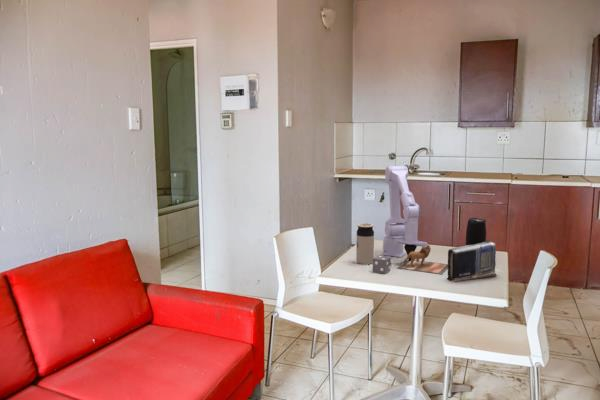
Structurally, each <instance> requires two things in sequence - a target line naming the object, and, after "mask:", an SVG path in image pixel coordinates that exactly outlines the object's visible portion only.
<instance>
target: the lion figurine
mask: <svg viewBox="0 0 600 400" xmlns="http://www.w3.org/2000/svg"><path fill="white" fill-rule="evenodd" d="M431 249H432V248H431V246H430V244H428V243H427V247H422V246H421V249H420V250H419V251H412V252H410V253H409V254H408V255H407V256H406V257H405V258H404V260H403V262H402V264H403V263H404V266H405V265H406V262H407V260H408V259H409V258H410V257H411V263H410V264H411V266H412V267H414V265H413V262H414V261H415V260H416V261H417V262H419V261H421V265H423V262H424V261H426V260H425V259H426V258H428V257H429V255H430V253H431Z"/></svg>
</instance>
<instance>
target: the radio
mask: <svg viewBox="0 0 600 400" xmlns="http://www.w3.org/2000/svg"><path fill="white" fill-rule="evenodd" d="M496 245H497V244H496V243H495V242H493V241H491V240H489V239H488V240H486V242H482V243H477V244H474V245H466V244H465V245H462V246H457V247H451V248H450V249H448V251H447V264H448V269H447V277H446V280H448V281H449V282H450V283H458V282H463V281H464V282H465V281H471V280H478V279H486V278H491V277H498V275H497V273H496V266H497V265H496V262H497V261H496V256H497V255H496V254H497V250H496Z"/></svg>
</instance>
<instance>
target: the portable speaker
mask: <svg viewBox="0 0 600 400" xmlns="http://www.w3.org/2000/svg"><path fill="white" fill-rule="evenodd" d="M486 222H487V221H486V219H485V218H477V217H469V218H468V220H467V224H466V230H465V231H466V232H465V246H466V245H474V244H477V243H482V242H487V225H486V224H487V223H486Z"/></svg>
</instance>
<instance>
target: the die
mask: <svg viewBox="0 0 600 400" xmlns="http://www.w3.org/2000/svg"><path fill="white" fill-rule="evenodd" d="M391 257H392V256H386V255H376V256H375V257H374V258H373V263H372V273H377V274H384V275H387V273H389V272H390V271H391V265H392V264H391V262H392V261H391V260H392V259H391Z"/></svg>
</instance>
